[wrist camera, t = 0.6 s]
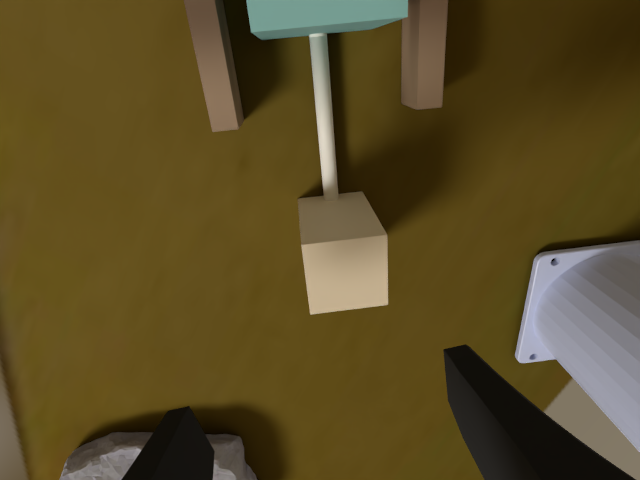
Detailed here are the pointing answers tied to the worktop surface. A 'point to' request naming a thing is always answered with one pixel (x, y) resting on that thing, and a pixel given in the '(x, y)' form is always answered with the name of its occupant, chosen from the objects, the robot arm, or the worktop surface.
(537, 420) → the robot arm
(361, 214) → the multicoloured linked piece
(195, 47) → the u-shaped wooden frame
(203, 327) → the worktop surface
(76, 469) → the stone block
